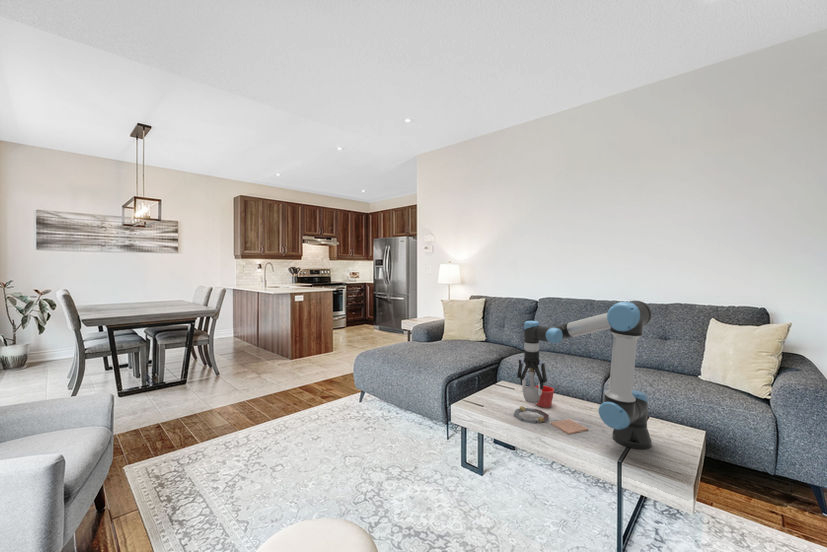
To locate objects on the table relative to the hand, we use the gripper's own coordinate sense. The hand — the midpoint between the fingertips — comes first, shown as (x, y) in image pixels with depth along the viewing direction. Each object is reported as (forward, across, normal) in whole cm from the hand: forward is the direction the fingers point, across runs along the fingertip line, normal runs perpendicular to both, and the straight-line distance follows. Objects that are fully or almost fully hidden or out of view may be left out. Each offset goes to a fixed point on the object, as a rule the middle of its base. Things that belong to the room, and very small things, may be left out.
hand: (531, 393), depth 187 cm
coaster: (+13, -19, +1) cm, 23 cm away
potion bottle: (+4, 0, 0) cm, 4 cm away
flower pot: (+13, +1, -20) cm, 23 cm away
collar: (+13, 0, 0) cm, 13 cm away
